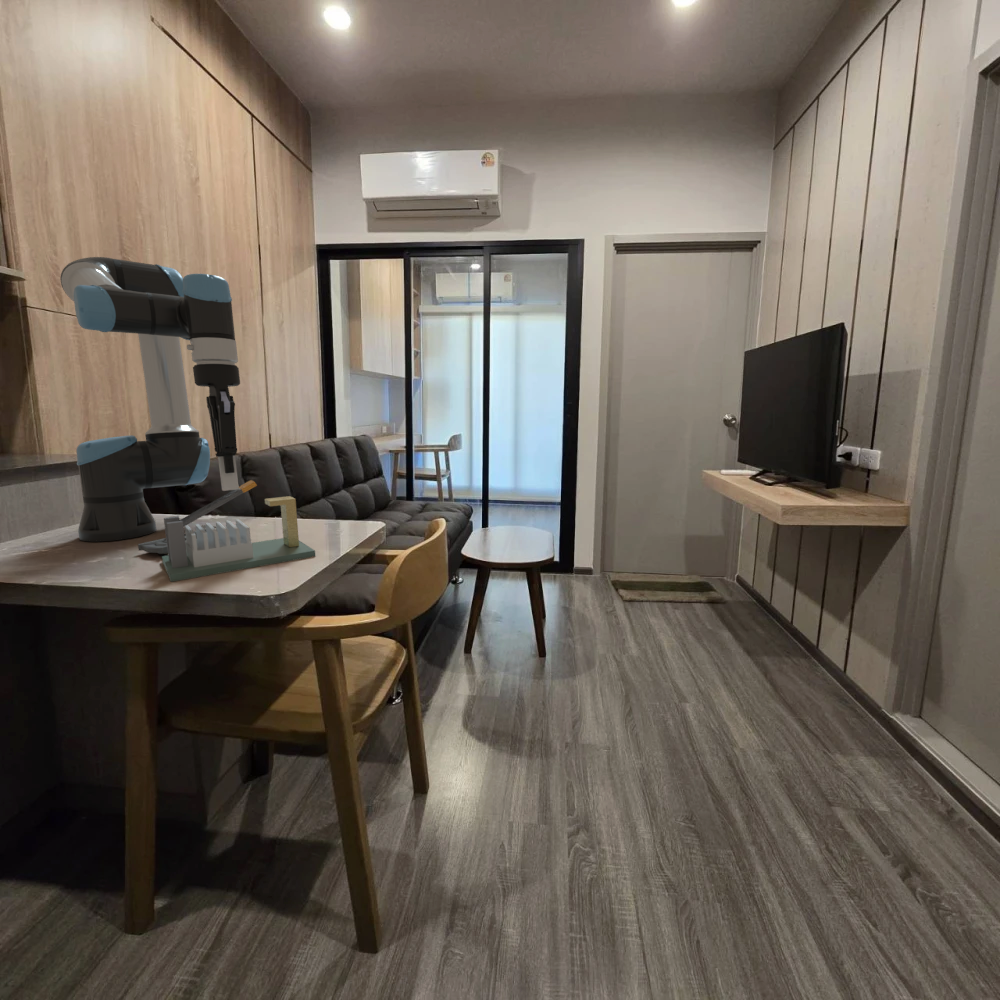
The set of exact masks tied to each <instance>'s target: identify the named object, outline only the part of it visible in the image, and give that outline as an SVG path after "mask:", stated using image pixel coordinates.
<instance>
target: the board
mask: <svg viewBox="0 0 1000 1000" xmlns="http://www.w3.org/2000/svg"><path fill="white" fill-rule="evenodd" d="M179 520H181V519H180V516H179V515H177V516H170V517H163V522H164V523H163V525H164V532H165V538H166V541H167V549H168V554H167V555H164V556H161V560H162V564H163V567H164V569H165V572H166V573H167V576H168V577H169V581H170V582H176V581H177V582H178V581H183V580H189V579H195V578H200V577H205V576H211V575H216V574H222V573H228V572H234V571H235V572H236V571H240V570H246V569H250V568H252V569H253V568H256V567H262V566H263V567H264V566H268V565H274V564H280V563H285V562H290V561H297V560H300V559H301V560H302V559H306V558H313V557H312V556H314V557H316V550H315V549H314V548H312V547H310V546H308V545H307V543H304V542H303V541H301V540H299V546H295V547H288V546H287V545H285V544H284V540H283V537H281V538H276V539H275V538H274V539H269V540H261V541H256V542H252V539H251V538H252V537H251V528H250V527H249V526H248V525H247V524H246V523H244V522H243V521H242V520H241V519H239V518H236V519H235V520H234V521H235V524H234V523H233V522H232V521H231V520H229V519H228V520H225V525H224V524H222V522H220V521H215V526H216V528H214V527H213V526H214V525H212V524H211V523H210V522H206V523H205V525H206V528H202V527H201V526H202V525H201V524H200V523H196V524H194V525H195V531H196V534H195V533H194V531H193V529H192V527H190V526H189V524H188V525H186V526H184V527H183V521H179ZM204 529H206V531H207V533H206V531H205V530H204ZM216 529H217V530H216ZM184 534H186V541H185V536H184ZM196 535H197V539H196ZM185 542H186V545H185ZM186 551H187V553H186Z"/></svg>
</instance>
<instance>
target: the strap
mask: <svg viewBox="0 0 1000 1000" xmlns="http://www.w3.org/2000/svg"><path fill="white" fill-rule="evenodd" d="M238 486H239V485H238ZM257 486H258V484H257V483H256V482H255V481H254V480H253V479H250V480H248V481H246V482H245V483H243V484H241V485H240V486H239V489H237V490H230V491H229V492H227V493H226V494H224V495H222V496H220V497H219V498H217V499H215V500H213V501H212V502H210V503H208V504H206V505H204V506H203V507H201V508H199V509H197V510H196V511H193V512H191V513H190V514H188V515H186V516H184V517H183V518H181V519H180V520H179V521H183V528H185V526H186V525H188V526H189V525H190V524H192V523H193V522H195V521H197V520H198V519H200V518H202V517H203V516H205V515H207V514H209V513H210V512H212V511H214V510H216V509H218V508H219V507H221V506H223V505H225V504H226V503H228V502H231V501H232V500H233V499H235V498H237V497H239V496H241V495H242V494H244V493H246V492H248V491H250V490H251V489H253V488H256V487H257Z"/></svg>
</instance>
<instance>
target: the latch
mask: <svg viewBox="0 0 1000 1000" xmlns="http://www.w3.org/2000/svg"><path fill="white" fill-rule="evenodd" d="M296 500H297V499H296V498H294V497H293V496H290V495H289V496H287V495H286V496H279V497H270V498H268V497H267V498H264V504H265V505H267V506H269V507H277V506H280V512H281V513H280V515H281V526H282V527H281V529H282V538H283V540H284V544H285V545H287V546H288V547H295V546H299V541H300V539H299V527H298V515H297V501H296Z"/></svg>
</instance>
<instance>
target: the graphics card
mask: <svg viewBox="0 0 1000 1000" xmlns="http://www.w3.org/2000/svg"><path fill="white" fill-rule="evenodd" d="M200 526H201V527H202V528H203V529H204V530H205V531H206V524H205V525H204V524H202V525H200ZM212 526H213V527H214V528H215V529H216V525H212ZM216 530H217V529H216ZM193 532H194V533H195V534H196V530H195V531H193ZM206 533H207V531H206ZM184 536H185V541H186V533H184ZM196 539H197V535H196ZM185 545H186V542H185ZM137 548H138V551H144V552H146V553H151V554H153V553H154V554H156V553H157V554H159V555H158V557H162V556H165V555H168V549H167V541H166V537H165V538H160V539H156V540H152V541H151V540H150V541H145V542H142V543H138V544H137ZM186 553H187V551H186Z"/></svg>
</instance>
